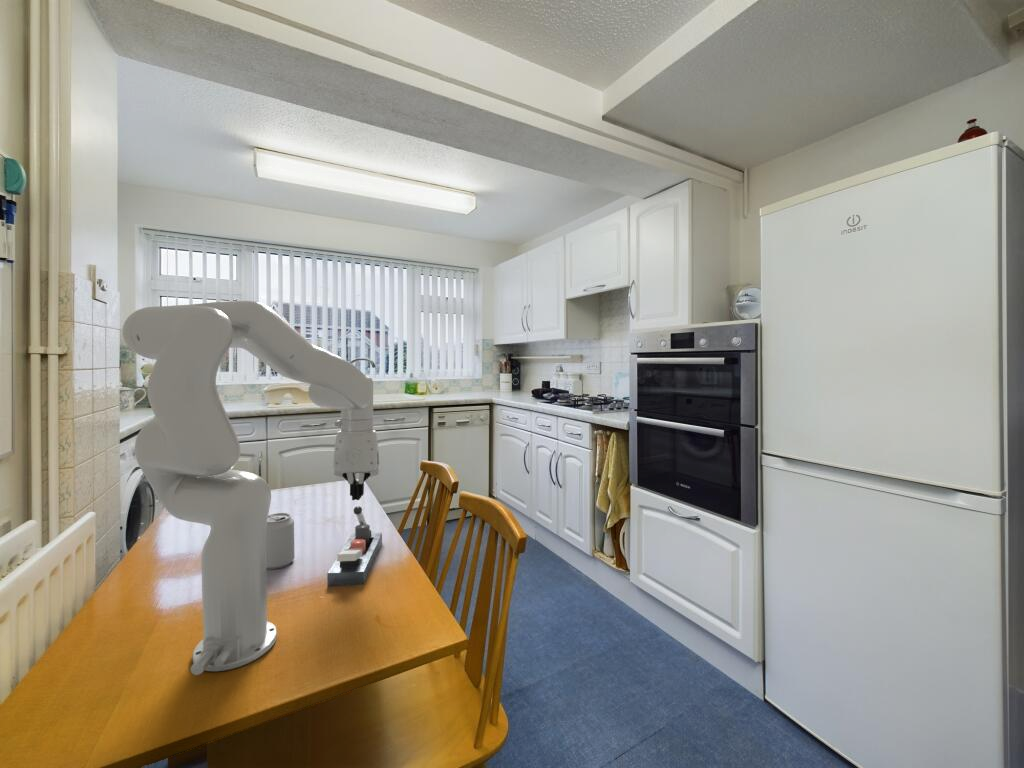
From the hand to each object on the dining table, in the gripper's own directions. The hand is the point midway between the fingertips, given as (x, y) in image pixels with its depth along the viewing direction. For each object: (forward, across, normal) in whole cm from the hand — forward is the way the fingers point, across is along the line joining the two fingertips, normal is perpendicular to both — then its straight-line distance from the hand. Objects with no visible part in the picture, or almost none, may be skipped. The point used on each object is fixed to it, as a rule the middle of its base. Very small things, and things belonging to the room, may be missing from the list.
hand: (356, 498), depth 109 cm
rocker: (+11, 0, -7) cm, 13 cm away
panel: (+16, 0, 0) cm, 16 cm away
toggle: (+12, 0, +10) cm, 15 cm away
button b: (+14, 0, +5) cm, 15 cm away
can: (+17, -19, +1) cm, 26 cm away
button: (+16, 0, +1) cm, 16 cm away
